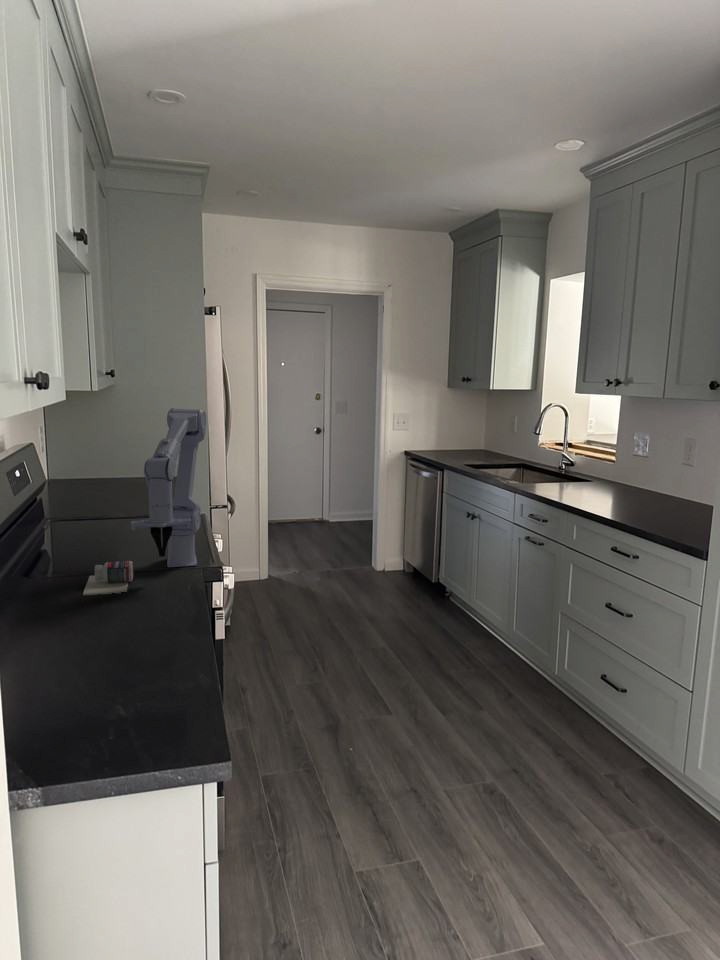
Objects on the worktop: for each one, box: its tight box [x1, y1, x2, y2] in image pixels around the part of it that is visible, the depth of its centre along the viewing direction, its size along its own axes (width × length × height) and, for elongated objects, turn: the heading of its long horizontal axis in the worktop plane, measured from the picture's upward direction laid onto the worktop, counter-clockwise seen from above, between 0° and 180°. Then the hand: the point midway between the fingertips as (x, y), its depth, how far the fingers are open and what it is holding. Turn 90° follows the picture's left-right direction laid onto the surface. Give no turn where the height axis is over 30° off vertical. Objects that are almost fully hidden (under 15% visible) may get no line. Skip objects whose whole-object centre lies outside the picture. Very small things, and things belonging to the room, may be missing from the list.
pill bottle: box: [94, 560, 134, 583], centre depth 166 cm, size 5×5×9 cm
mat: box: [82, 574, 129, 596], centre depth 165 cm, size 14×10×1 cm
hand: (162, 555), depth 168 cm, fingers closed
